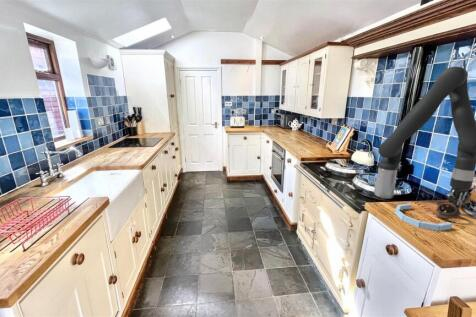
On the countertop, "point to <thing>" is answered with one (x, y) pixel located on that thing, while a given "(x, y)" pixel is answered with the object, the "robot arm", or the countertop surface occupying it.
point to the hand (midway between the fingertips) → (454, 210)
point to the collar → (419, 223)
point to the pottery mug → (447, 210)
